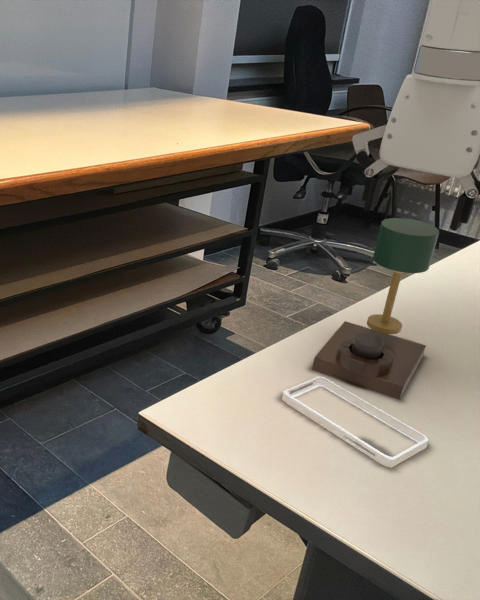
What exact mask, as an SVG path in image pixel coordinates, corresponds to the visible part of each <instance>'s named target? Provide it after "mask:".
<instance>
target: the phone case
mask: <svg viewBox="0 0 480 600" xmlns="http://www.w3.org/2000/svg"><path fill="white" fill-rule="evenodd" d="M311 383H312V384H311ZM309 384H311V385H309ZM307 385H308V386H307ZM302 387H303V388H302ZM319 387H320V388H321V387H322V388H324V389H326V390H328V391H329V392H331V393H332V394H334V395H336V396H338V397H339V398H341V399H343V400H345V401H346V402H348V403H349V404H351V405H353V406H354V407H356V408H358V409H360V410H361V411H363V412H366V414H368V415H370V416H372V417H374V418H375V419H377V420H379V421H380V422H382V423H384V424H385V425H387V426H389V427H391V428H392V429H394V430H395V431H397V432H399V433H401V434H402V435H404V436H406V437H407V438H408V439H411V440H413V441H414V442H416V443H415V444H414V445H412V446H410V447H408V448H407V449H404V450H403V451H401V452H399V453H397V454H395V455H394V456H390V455H387V454H385V453H383V452H381V451H379V450H378V449H377V448H375V447H373V446H372V445H371V444H369V443H367V442H366V441H364V440H362V439H361V438H359V437H357V436H356V435H355V434H353V433H352V432H349V431H348V430H347V429H345V428H343V427H342V426H340V425H338V424H337V423H335V422H334V421H332V420H331V419H329V418H328V417H326V416H324V415H322V414H321V413H319V412H317V411H316V410H315V409H313V408H311V406H308V405H307V404H305V403H304V402H302V401H300V400H299V399H297V398H296V397H299V396H301V395H304V394H305V393H307V392H310V391H312V390H314V389H316V388H319ZM300 388H301V389H300ZM297 389H299V390H297ZM293 391H294V392H293ZM281 400H282V401H283V402H284V403H285V404H287V405H288V406H289V407H291V408H293V409H295V410H296V411H297V412H299V413H301V414H302V415H303V416H305V417H307V418H308V419H310V420H311V421H313V422H315V424H317V425H319V426H321V427H322V428H324V429H325V430H327V431H329V432H330V433H332V434H333V435H335V436H336V437H338V438H340V439H341V440H343V441H344V442H346V443H347V444H349V445H350V446H352V447H354V449H357V450H358V451H359V452H361V453H362V454H365V455H366V456H367V457H369V458H371V459H372V460H374V461H375V462H377V463H378V464H380V465H382V466H383V467H386V468H390V469H392V468H394V467H395V466H397V465H399V464H400V463H402V462H404V461H406V460H408V459H409V458H411V457H413V456H414V455H416V454H418V453H420V452H422V451H423V450H425V449H427V446H428V444H429V440H430V439H429V438H428V437H427V435H425V434H423V433H422V432H420V431H418V430H417V429H415V428H413V427H411V426H409V425H408V424H406V423H404V422H403V421H401V420H399V419H398V418H396V417H394V416H393V415H391V414H389V413H388V412H386V411H384V410H382V409H380V408H378V407H377V406H375V405H373V404H371V402H368V401H366V400H364V399H363V398H361V397H360V396H358V395H356V394H354V393H352V392H351V391H349V390H347V389H346V388H344V387H342V386H340V385H338V384H336V383H335V382H334V381H332V380H330V379H328V378H326V377H324V376H320V375H319V376H316V377H313V378H311V379H309V380H306V381H303V382H301V383H299V384H297V385H294V386H292V387H290V388H287V389H284V390H283V392H282V397H281ZM348 438H349V439H348ZM351 440H352V441H351ZM353 441H354V442H355V443H354V442H353ZM356 443H357V444H356ZM359 445H360V446H359ZM362 447H363V448H362ZM364 448H365V449H366V450H365V449H364ZM367 450H368V451H367ZM370 452H371V453H370ZM373 454H374V455H373Z"/></svg>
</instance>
